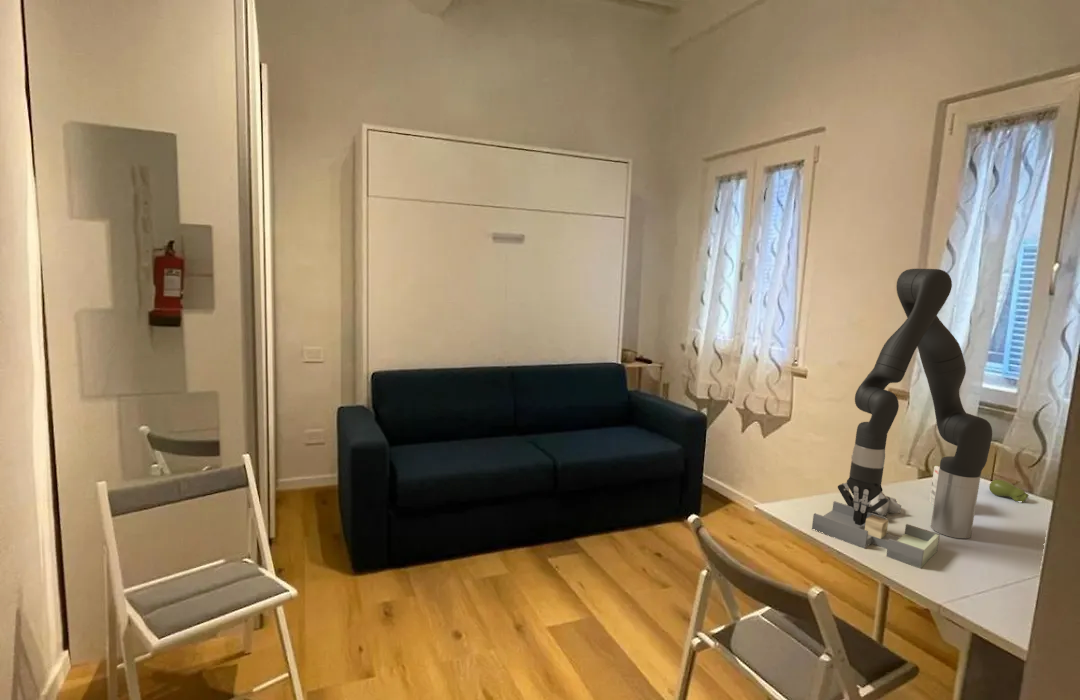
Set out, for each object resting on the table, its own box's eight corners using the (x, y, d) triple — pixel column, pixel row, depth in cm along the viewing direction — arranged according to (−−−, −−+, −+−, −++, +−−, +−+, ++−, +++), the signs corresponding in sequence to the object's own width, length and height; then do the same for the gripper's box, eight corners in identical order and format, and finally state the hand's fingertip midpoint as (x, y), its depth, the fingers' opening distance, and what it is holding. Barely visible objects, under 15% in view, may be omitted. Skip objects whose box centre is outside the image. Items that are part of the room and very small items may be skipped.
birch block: (870, 529, 159) (872, 514, 159) (886, 534, 156) (888, 520, 156) (864, 533, 157) (866, 518, 156) (880, 538, 154) (882, 524, 153)
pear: (995, 475, 196) (1032, 489, 188) (989, 489, 197) (1026, 504, 190) (990, 478, 192) (1028, 493, 185) (984, 493, 193) (1022, 508, 186)
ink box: (959, 514, 176) (965, 476, 175) (940, 512, 177) (946, 474, 176) (945, 503, 185) (951, 466, 183) (928, 501, 186) (933, 465, 184)
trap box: (832, 516, 172) (834, 501, 171) (937, 550, 153) (939, 534, 152) (811, 529, 162) (813, 513, 161) (920, 568, 143) (923, 550, 143)
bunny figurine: (908, 499, 176) (887, 505, 167) (905, 516, 176) (884, 522, 167) (874, 488, 183) (852, 493, 174) (871, 504, 184) (849, 510, 174)
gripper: (900, 466, 155) (891, 529, 157) (847, 452, 164) (839, 512, 167) (890, 472, 150) (880, 537, 152) (835, 457, 159) (827, 518, 162)
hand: (858, 524), depth 160 cm, fingers closed
